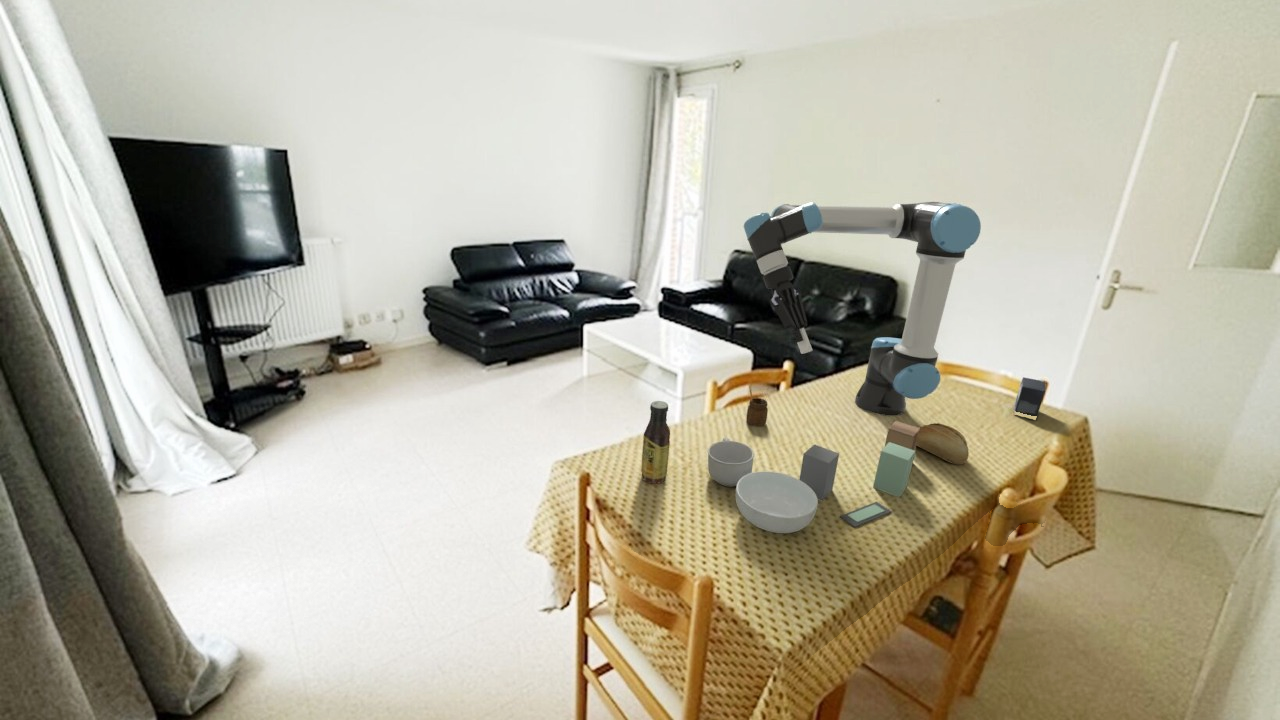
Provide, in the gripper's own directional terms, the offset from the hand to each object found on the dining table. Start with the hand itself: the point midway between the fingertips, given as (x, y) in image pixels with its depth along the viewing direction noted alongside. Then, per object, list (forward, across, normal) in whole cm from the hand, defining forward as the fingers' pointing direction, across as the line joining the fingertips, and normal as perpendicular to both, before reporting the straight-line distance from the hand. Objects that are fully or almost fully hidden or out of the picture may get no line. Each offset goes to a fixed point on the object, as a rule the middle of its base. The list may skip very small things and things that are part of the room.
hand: (807, 352), depth 140 cm
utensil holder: (+16, +1, -24) cm, 29 cm away
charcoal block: (+30, +21, +2) cm, 37 cm away
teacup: (+21, +32, -14) cm, 40 cm away
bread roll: (+39, -21, +13) cm, 46 cm away
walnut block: (+35, -7, +8) cm, 37 cm away
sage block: (+37, +6, +11) cm, 39 cm away
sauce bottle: (+15, +46, -23) cm, 54 cm away
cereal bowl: (+29, +39, +1) cm, 49 cm away
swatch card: (+37, +22, +12) cm, 44 cm away
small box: (+46, -73, +22) cm, 89 cm away
